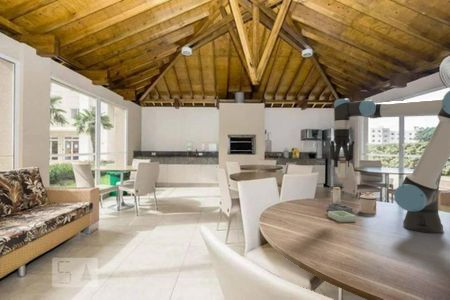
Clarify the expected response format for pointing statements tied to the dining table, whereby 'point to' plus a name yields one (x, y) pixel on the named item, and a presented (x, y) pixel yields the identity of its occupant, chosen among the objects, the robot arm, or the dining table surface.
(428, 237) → the dining table surface
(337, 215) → the parts tray
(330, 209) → the fuse block
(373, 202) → the teacup with lid
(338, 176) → the cylinder
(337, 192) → the fuse
